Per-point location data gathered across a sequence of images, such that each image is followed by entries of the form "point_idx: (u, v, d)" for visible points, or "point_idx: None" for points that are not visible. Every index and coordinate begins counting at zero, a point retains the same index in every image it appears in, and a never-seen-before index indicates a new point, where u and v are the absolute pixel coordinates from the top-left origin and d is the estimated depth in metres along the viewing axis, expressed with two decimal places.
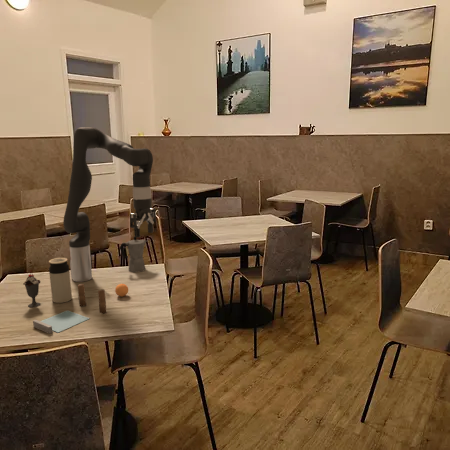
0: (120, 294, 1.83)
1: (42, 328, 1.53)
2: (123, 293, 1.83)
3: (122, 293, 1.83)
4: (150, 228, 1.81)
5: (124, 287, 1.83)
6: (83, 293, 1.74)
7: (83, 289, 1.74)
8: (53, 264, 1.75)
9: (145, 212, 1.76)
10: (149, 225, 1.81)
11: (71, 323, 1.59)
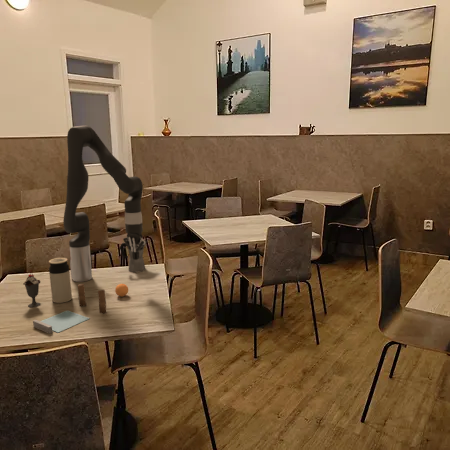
0: (120, 294, 1.83)
1: (42, 328, 1.53)
2: (123, 293, 1.83)
3: (122, 293, 1.83)
4: None
5: (124, 287, 1.83)
6: (83, 293, 1.74)
7: (83, 289, 1.74)
8: (53, 264, 1.75)
9: None
10: None
11: (71, 323, 1.59)
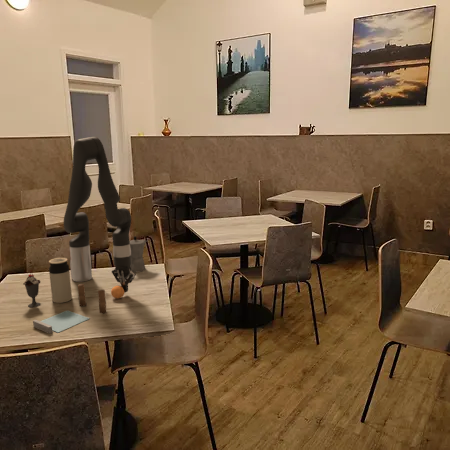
0: (117, 298, 1.82)
1: (42, 328, 1.53)
2: (120, 296, 1.81)
3: (119, 296, 1.81)
4: None
5: (119, 291, 1.80)
6: (83, 293, 1.74)
7: (83, 289, 1.74)
8: (53, 264, 1.75)
9: None
10: None
11: (71, 323, 1.59)
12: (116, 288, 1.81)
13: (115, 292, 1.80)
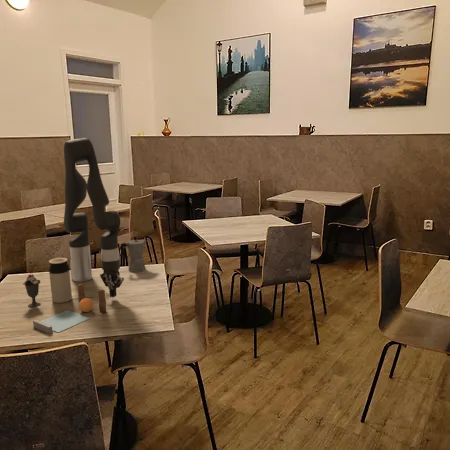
0: (83, 308, 1.67)
1: (42, 328, 1.53)
2: (86, 308, 1.67)
3: (85, 307, 1.67)
4: None
5: (89, 302, 1.68)
6: (83, 293, 1.74)
7: (83, 289, 1.74)
8: (53, 264, 1.75)
9: None
10: None
11: (71, 323, 1.59)
12: (89, 299, 1.69)
13: (86, 301, 1.68)
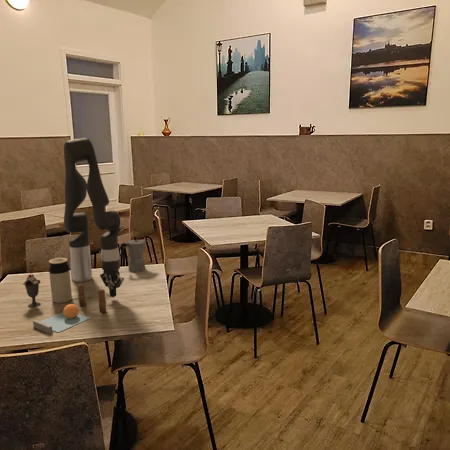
0: None
1: (42, 328, 1.53)
2: (77, 312, 1.64)
3: (77, 313, 1.64)
4: None
5: (72, 316, 1.62)
6: (83, 293, 1.74)
7: (83, 289, 1.74)
8: (53, 264, 1.75)
9: None
10: None
11: (71, 323, 1.59)
12: (68, 317, 1.62)
13: None
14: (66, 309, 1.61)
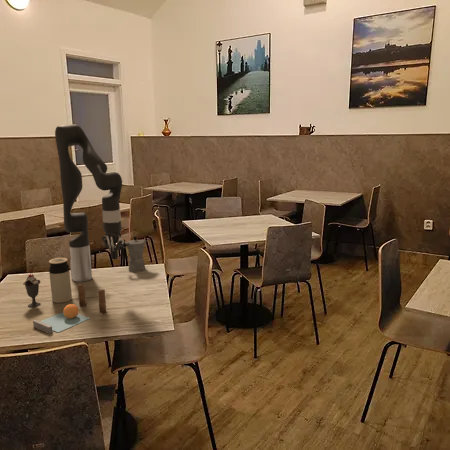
0: None
1: (42, 328, 1.53)
2: (77, 312, 1.64)
3: (77, 313, 1.64)
4: None
5: (72, 316, 1.62)
6: (83, 293, 1.74)
7: (83, 289, 1.74)
8: (53, 264, 1.75)
9: None
10: None
11: (71, 323, 1.59)
12: (68, 317, 1.62)
13: None
14: (66, 309, 1.61)
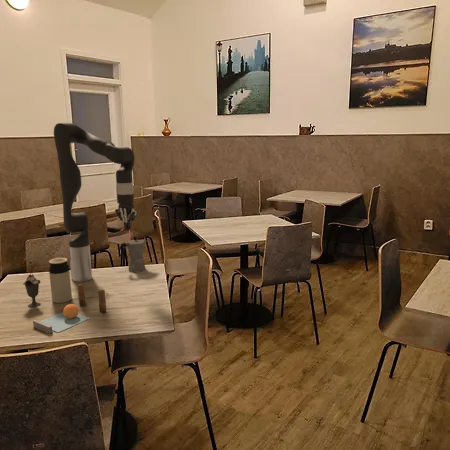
0: None
1: (42, 328, 1.53)
2: (77, 312, 1.64)
3: (77, 313, 1.64)
4: None
5: (72, 316, 1.62)
6: (83, 293, 1.74)
7: (83, 289, 1.74)
8: (53, 264, 1.75)
9: None
10: None
11: (71, 323, 1.59)
12: (68, 317, 1.62)
13: None
14: (66, 309, 1.61)
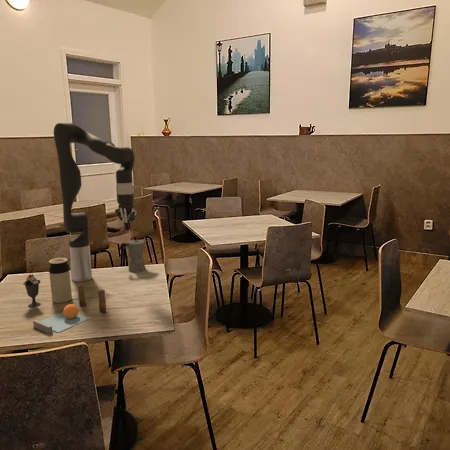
0: None
1: (42, 328, 1.53)
2: (77, 312, 1.64)
3: (77, 313, 1.64)
4: None
5: (72, 316, 1.62)
6: (83, 293, 1.74)
7: (83, 289, 1.74)
8: (53, 264, 1.75)
9: None
10: None
11: (71, 323, 1.59)
12: (68, 317, 1.62)
13: None
14: (66, 309, 1.61)
